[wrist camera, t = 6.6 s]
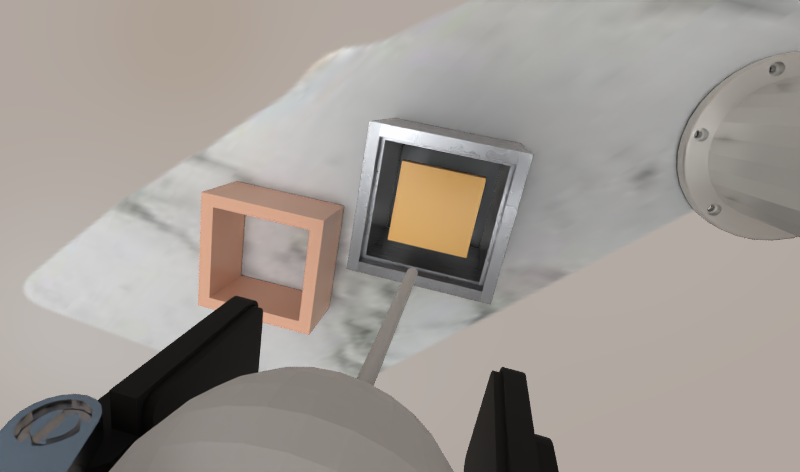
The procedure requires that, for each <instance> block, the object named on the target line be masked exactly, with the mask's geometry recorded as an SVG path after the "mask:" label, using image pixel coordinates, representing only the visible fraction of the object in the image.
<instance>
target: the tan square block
mask: <svg viewBox="0 0 800 472" xmlns="http://www.w3.org/2000/svg"><path fill="white" fill-rule="evenodd" d="M485 182H486V177H485V176H480V175H475V174H471V173H466V172H461V171H456V170H452V169H447V168H442V167H438V166H433V165H428V164H424V163H419V162H414V161H410V160H405V159H404V160H403V161H402V165H401V170H400V176H399V181H398V186H397V192H396V197H395V203H394V208H393V213H392V219H391V224H390V230H389V235H388V240H392V241H396V242H400V243H404V244H408V245H413V246H417V247H421V248H425V249H430V250H434V251H438V252H442V253H447V254H451V255H455V256H459V257H464V258H466V257H467V253H468V249H469V245H470V241H471V238H472V234H473V230H474V226H475V222H476V218H477V214H478V210H479V206H480V202H481V198H482V194H483V190H484V186H485Z"/></svg>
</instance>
